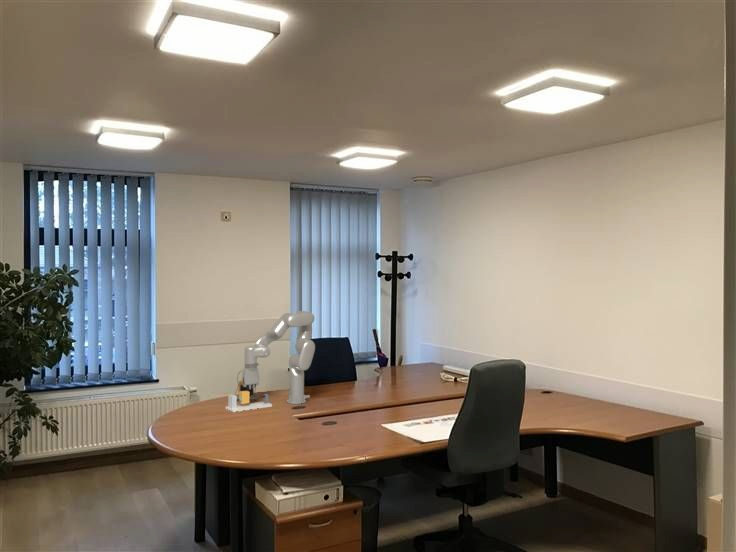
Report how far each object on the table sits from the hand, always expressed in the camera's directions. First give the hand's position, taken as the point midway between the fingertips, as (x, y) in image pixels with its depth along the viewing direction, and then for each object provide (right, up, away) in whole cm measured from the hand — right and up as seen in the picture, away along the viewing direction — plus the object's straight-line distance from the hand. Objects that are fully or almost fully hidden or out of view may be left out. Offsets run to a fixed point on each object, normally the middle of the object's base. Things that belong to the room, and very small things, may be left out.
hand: (250, 395), depth 365 cm
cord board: (-1, -8, -1) cm, 8 cm away
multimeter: (-8, -8, +21) cm, 24 cm away
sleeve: (-4, -4, -3) cm, 6 cm away
